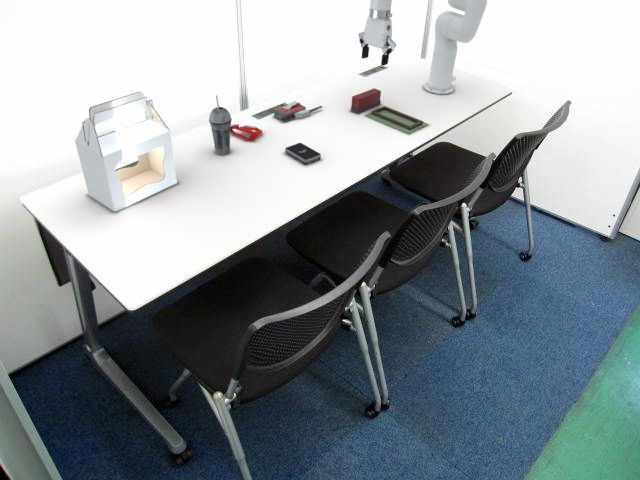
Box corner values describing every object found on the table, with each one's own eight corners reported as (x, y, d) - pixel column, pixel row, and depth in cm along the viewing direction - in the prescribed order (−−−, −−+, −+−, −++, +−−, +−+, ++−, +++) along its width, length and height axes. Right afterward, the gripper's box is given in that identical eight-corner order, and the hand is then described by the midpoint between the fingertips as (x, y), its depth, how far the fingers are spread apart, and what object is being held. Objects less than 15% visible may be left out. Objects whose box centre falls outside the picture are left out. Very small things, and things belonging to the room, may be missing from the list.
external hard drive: (305, 166, 177) (305, 160, 175) (284, 153, 183) (284, 147, 182) (321, 159, 180) (321, 154, 179) (300, 147, 187) (300, 142, 186)
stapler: (373, 102, 221) (375, 87, 218) (380, 104, 219) (382, 90, 216) (350, 111, 213) (351, 96, 210) (357, 114, 211) (358, 99, 208)
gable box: (114, 213, 151) (92, 119, 134) (87, 195, 158) (64, 103, 141) (178, 183, 165) (166, 94, 148) (151, 168, 172) (137, 82, 155)
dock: (385, 107, 217) (385, 103, 216) (427, 125, 205) (428, 120, 204) (365, 116, 210) (365, 111, 209) (408, 134, 198) (409, 129, 197)
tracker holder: (259, 125, 197) (266, 130, 188) (257, 137, 199) (264, 142, 190) (226, 120, 192) (232, 126, 184) (225, 133, 194) (230, 139, 185)
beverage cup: (237, 149, 184) (234, 92, 172) (227, 158, 179) (223, 100, 167) (218, 145, 186) (213, 88, 174) (207, 154, 180) (202, 96, 168)
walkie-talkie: (286, 125, 201) (323, 110, 212) (286, 114, 198) (324, 100, 210) (270, 117, 205) (308, 104, 217) (270, 106, 203) (308, 93, 214)
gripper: (405, 17, 193) (398, 65, 203) (368, 7, 202) (363, 53, 213) (391, 20, 189) (385, 69, 199) (354, 10, 198) (350, 57, 208)
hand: (374, 61), depth 206 cm, fingers open, 9 cm apart
